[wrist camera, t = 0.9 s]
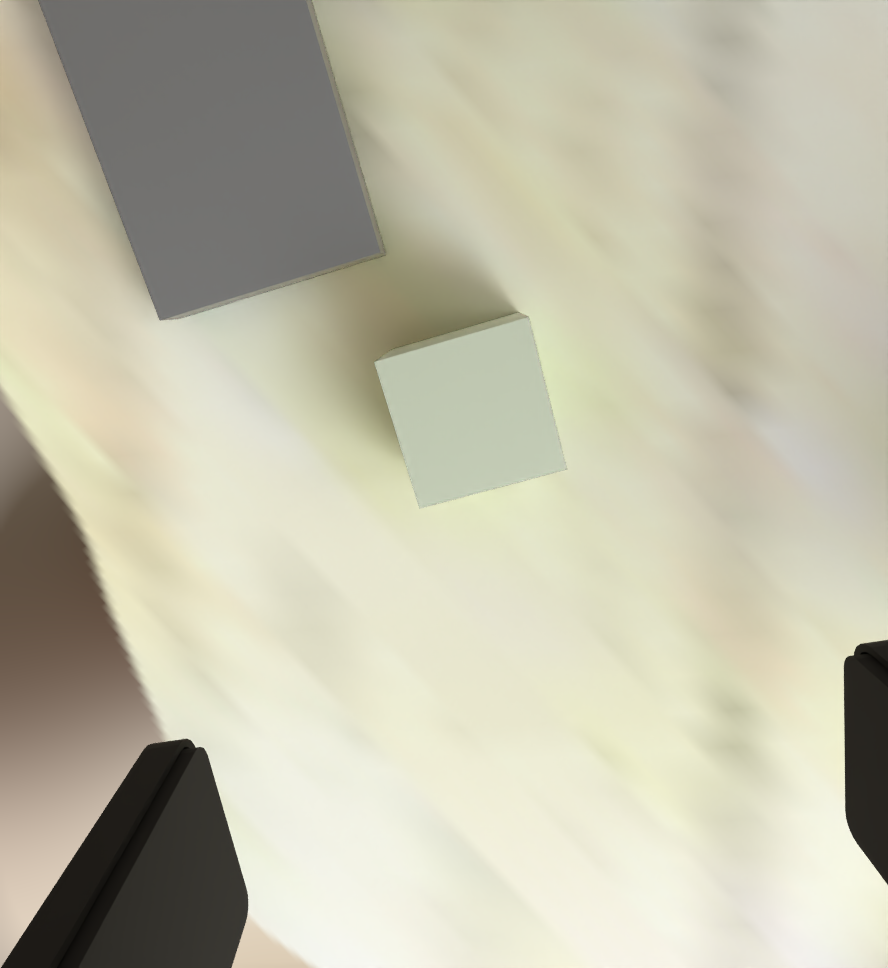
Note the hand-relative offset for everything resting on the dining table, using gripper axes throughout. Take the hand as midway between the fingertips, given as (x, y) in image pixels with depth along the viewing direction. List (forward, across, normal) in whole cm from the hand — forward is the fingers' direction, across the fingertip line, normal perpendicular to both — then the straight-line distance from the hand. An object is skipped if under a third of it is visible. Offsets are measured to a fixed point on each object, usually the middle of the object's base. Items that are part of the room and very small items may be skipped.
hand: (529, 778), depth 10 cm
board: (+24, +9, -20) cm, 33 cm away
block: (+24, 0, -2) cm, 24 cm away
